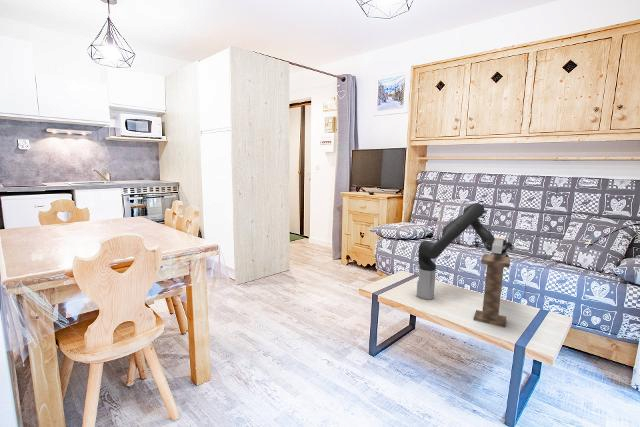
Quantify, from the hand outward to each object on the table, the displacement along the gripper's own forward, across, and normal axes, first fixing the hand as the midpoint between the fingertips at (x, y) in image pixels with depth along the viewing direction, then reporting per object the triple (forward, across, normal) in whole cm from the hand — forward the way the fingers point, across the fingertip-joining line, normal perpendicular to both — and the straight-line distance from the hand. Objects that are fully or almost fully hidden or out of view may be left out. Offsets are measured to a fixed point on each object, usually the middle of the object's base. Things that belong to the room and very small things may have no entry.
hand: (499, 240), depth 170 cm
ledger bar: (+4, 0, +6) cm, 7 cm away
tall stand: (-10, 0, +39) cm, 40 cm away
